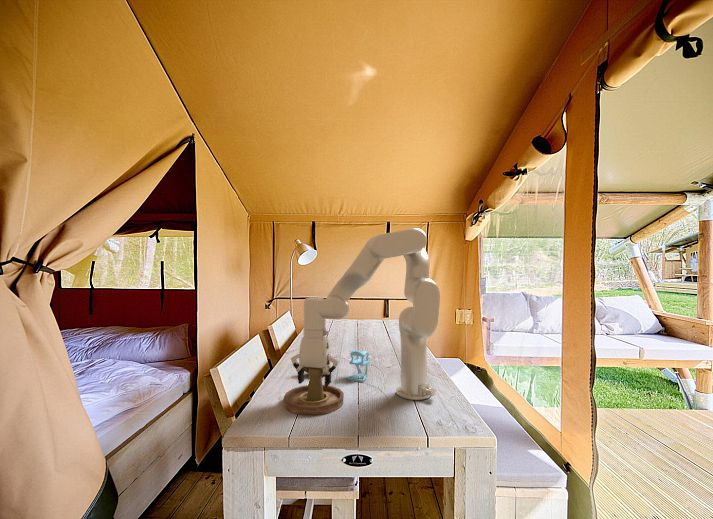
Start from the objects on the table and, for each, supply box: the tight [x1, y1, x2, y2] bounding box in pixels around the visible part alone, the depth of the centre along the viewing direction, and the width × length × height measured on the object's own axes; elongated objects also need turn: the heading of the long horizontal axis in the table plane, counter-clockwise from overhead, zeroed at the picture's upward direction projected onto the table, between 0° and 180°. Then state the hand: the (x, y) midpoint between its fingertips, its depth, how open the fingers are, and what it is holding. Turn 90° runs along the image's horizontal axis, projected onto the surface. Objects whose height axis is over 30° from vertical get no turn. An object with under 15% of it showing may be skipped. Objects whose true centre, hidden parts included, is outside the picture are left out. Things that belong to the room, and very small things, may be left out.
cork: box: [307, 368, 324, 402], centre depth 114 cm, size 6×6×11 cm
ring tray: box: [283, 384, 344, 416], centre depth 114 cm, size 20×20×2 cm
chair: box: [346, 349, 371, 383], centre depth 139 cm, size 8×8×12 cm
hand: (314, 383), depth 114 cm, fingers open, 9 cm apart
